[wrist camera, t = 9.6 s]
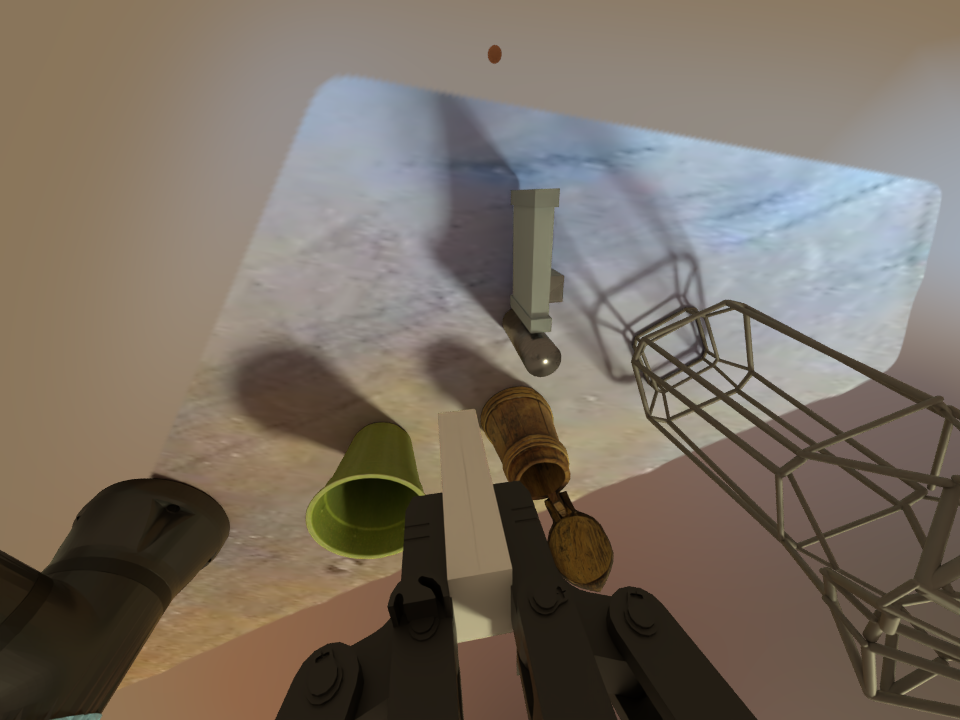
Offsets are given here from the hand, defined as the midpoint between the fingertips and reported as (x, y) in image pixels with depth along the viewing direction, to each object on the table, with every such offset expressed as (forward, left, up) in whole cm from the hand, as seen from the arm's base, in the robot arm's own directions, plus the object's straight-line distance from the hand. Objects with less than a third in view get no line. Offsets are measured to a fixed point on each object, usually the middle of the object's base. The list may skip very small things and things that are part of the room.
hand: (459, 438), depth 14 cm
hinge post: (+8, -4, -24) cm, 26 cm away
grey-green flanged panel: (+8, +4, -23) cm, 25 cm away
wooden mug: (+9, -19, -24) cm, 32 cm away
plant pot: (-9, -19, -24) cm, 32 cm away
